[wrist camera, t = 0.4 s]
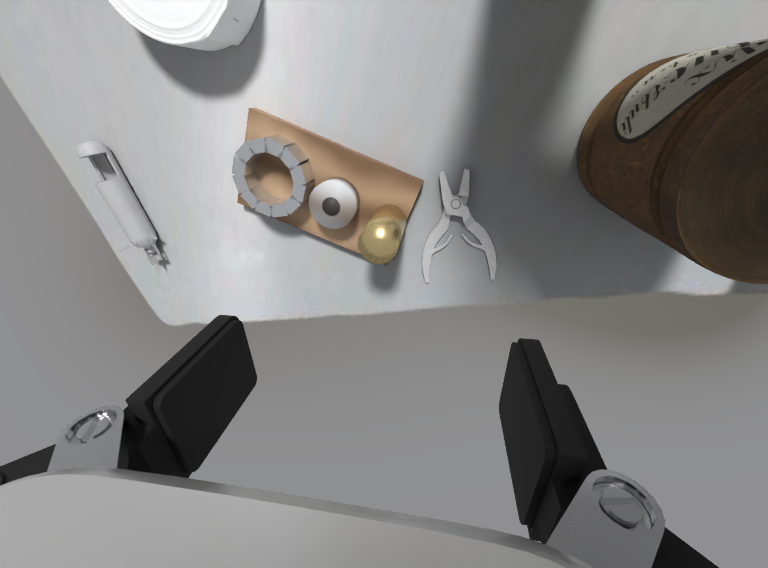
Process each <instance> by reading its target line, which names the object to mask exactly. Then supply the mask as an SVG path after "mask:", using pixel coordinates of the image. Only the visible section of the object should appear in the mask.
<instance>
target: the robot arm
mask: <svg viewBox="0 0 768 568" xmlns="http://www.w3.org/2000/svg"><path fill="white" fill-rule="evenodd" d="M256 381H257V375H256V371H255V368H254V364H253V360H252V356H251V352H250V349H249V345H248V341H247V338H246V334H245V330H244V327H243V323H242V322H241V321H240V320H239V319H238V318H237V317H236V316H228V315H219V316H217V317H216V318H215V319H214V320H213V321H211V322H210V323H209V324H208V325H207V326H206V327H205V328H204V329H203V330H202V331H200V332H199V333H198V334H197V335H196V336H195V337H194V338H193V339H192V340H191V341H190V342H188V343H187V344H186V345H185V346H184V347H183V348H182V349H181V350H180V351H179V352H177V353H176V354H175V355H174V356H173V357H172V358H171V359H170V360H169V361H168V362H167V363H165V364H164V365H163V366H162V367H161V368H160V369H159V370H158V371H157V372H156V373H154V374H153V375H152V376H151V377H150V378H149V379H148V380H147V381H146V382H144V383H143V384H142V385H141V386H140V387H139V388H138V389H137V390H136V391H135V392H134V393H132V394H131V395H130V396H129V397H128V398H127V399H126V402H127V404H128V407H127V408H125V409H124V410H123V409H122V408H120V407H119V406H114V405H111V406H103V407H99V408H96V409H94V410H91V411H89V412H86V413H84V414H83V415H81V416H79V417H78V418H76V419H75V420H73V421H72V422H71V423H70V424H68V425H67V427H66V428H65V429H64V430H63V431H62V432H61V434H60V436H59V438H58V440H57V443H56V444H55V445H52V446H50V447H47V448H45V449H42V450H40V451H37V452H35V453H33V454H30V455H27V456H25V457H23V458H20V459H18V460H15V461H13V462H10V463H8V464H6V465H3V466H0V568H718V567H717V566H716V565H714V564H713V563H712V562H711V561H709V560H708V559H707V558H705V557H704V556H703V555H701V554H700V553H699V552H697V551H696V550H695V549H693V548H692V547H691V546H689V545H688V544H687V543H685V542H684V541H682V540H681V539H680V538H679V537H677V536H676V535H675V534H673V533H672V532H671V531H669V530H668V529H667V528H665V519H664V516H663V513H662V510H661V508H660V507H659V505H658V504H657V502H656V500H655V499H654V498H653V497H652V496H651V494H650V493H648V491H647V490H646V489H645V488H644V487H642V486H641V485H640V484H638V483H637V482H636V481H635V480H633V479H631V478H629V477H627V476H625V475H624V474H621V473H618V472H615V471H611V470H607V468H606V466H605V464H604V462H603V459H602V458H601V455H600V453H599V451H598V449H597V446H596V444H595V442H594V440H593V438H592V435H591V433H590V431H589V429H588V427H587V425H586V423H585V420H584V418H583V416H582V414H581V412H580V409H579V407H578V405H577V403H576V400H575V398H574V396H573V394H572V392H571V390H570V388H569V387H568V386H567V385H562V384H558V383H557V381H556V379H555V376H554V374H553V371H552V369H551V367H550V364H549V362H548V360H547V358H546V355H545V352H544V350H543V348H542V345H541V343H540V341H539V340H534V339H522V338H520V339H519V340H518V342H517V343H515V342H513V343H512V344H511V348H510V353H509V358H508V363H507V368H506V373H505V377H504V382H503V387H502V392H501V397H500V402H499V413H500V419H501V424H502V429H503V434H504V440H505V446H506V451H507V456H508V461H509V467H510V472H511V478H512V483H513V488H514V494H515V499H516V504H517V510H518V515H519V520H520V523H521V524H522V525H527V527H528V532H529V537H530V539H527V538H524V537H521V536H517V535H512V534H508V533H504V532H499V531H495V530H491V529H486V528H481V527H476V526H470V525H465V524H459V523H454V522H449V521H444V520H438V519H433V518H428V517H421V516H416V515H410V514H404V513H398V512H392V511H385V510H380V509H374V508H368V507H362V506H356V505H350V504H344V503H338V502H332V501H326V500H320V499H314V498H308V497H302V496H295V495H289V494H283V493H277V492H271V491H265V490H259V489H252V488H246V487H239V486H234V485H227V484H220V483H214V482H208V481H202V480H195V479H189V478H188V477H189V476H190V474H191V473H192V472H194V471H196V470H197V469H198V468H199V467H200V465H201V464H202V463H203V461H204V460H205V458H206V457H207V455H208V454H209V452H210V451H211V449H212V448H213V447H214V445H215V444H216V442H217V441H218V439H219V438H220V436H221V435H222V433H223V432H224V430H225V429H226V428H227V426H228V425H229V423H230V422H231V420H232V418H233V417H234V416H235V414H236V413H237V411H238V410H239V408H240V407H241V405H242V404H243V402H244V401H245V400H246V398H247V397H248V395H249V394H250V392H251V391H252V389H253V388H254V386H255V385H256ZM533 540H535V541H533ZM536 541H541V542H542V543H539V542H536Z"/></svg>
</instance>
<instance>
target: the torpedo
mask: <svg viewBox="0 0 768 568" xmlns="http://www.w3.org/2000/svg"><path fill="white" fill-rule="evenodd" d="M77 153H78V156H79V158H84V157H88V158H89V159H90V161H91V163H92V164H93V166H94V168H95V169H96V171H97V173H98V175H99V176H100V178H101V180H102V182H98V183H94V184H95V186H96V187H97V189H98V190H99V192H100V194H101V195H102V197H103V199H104V200H105V202H106V204H107V205H108V207H109V209H110V210H111V212H112V214H113V215H114V216H115V218H116V220H117V221H118V223H119V224H120V226H121V228H122V229H123V231H124V233H125V234H126V236H127V238H128V239H129V241H130V242H131V243H132V245H135V246H137V247H139V248H140V249H141V250H142V251H143V252H144V254H145V256H146V257H147V259H149V261H150V262H151V264H152V265H154V264H156V263H157V261H158V262H159V261H161V260H163V258H162V256H161V254H160V251H159V249H158V248H157V246H156V239H158V238H157V235H156V232H155V230H154V228H153V226H152V225H151V223H150V221H149V219H148V217H147V216H146V214H145V212H144V210H143V208H142V207H141V205H140V203H139V201H138V200H137V198H136V196H135V194H134V192H133V191H132V189H131V187H130V185H129V183H128V182H127V180H126V178H125V176H124V174H123V173H122V171H121V169H120V167H119V165H118V164H117V162H116V160H115V158H114V156H113V155H112V153H111V151H110V150H109V149H108V148H107V146H105V145H104V144H102V143H100V142H98V141H86V142H83V143H81V144H80V145H79V146H78V149H77ZM104 153H105V154H106V156H107V158H108V159H109V161H110V163H111V165H112V167H113V168H114V170H115V172H116V174H117V175H118V177H119V178H117V177H116V175H115V173H114V171H113V170H112V168H111V166H110V164H109V162H108V161H107V159H106V157H105V155H104ZM132 245H130V246H132ZM130 246H128V247H130ZM128 247H126V248H128ZM153 247H154V248H153ZM126 248H123V249H121V250H124V249H126ZM121 250H119V251H121ZM155 250H156V252H157V254H156V255H154V256H149V254H150V253H151V254H152V253H155V252H154V251H155ZM119 251H117V252H119ZM156 260H157V261H156Z"/></svg>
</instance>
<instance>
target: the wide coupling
mask: <svg viewBox="0 0 768 568" xmlns="http://www.w3.org/2000/svg"><path fill="white" fill-rule="evenodd" d="M294 144H295V142H293V141H291V140H289V139H286V138H284V137H282V136H279V135H277V136H276V135H272V136H267V137H261V138H256V139H252V140H247V141H246V142H244V144H243V145H242V146H241V147H240V148H239V149H238V151H237V152H236V153H235V155H236V156H234V160H233V169H232V173H233V174H235V175H233V179H234V182H235V184H236V187H237V190H238V192H239V193H242V194H241V195H240V196H241V197H242V198H243V199H244V200H245V201H246V202H247V203H248V204H249V205H250V207H251V208H252V209H254V208H255V211H257V212H260V213H262V214H264V215H267V216H269V217H271V216H273V217H281V216H288V215H290V214H292V213H293V212H294V211H296V210H297V209H298V208H300V207H301V206H302V205H303V204H304V203H305V202H306V201H308V200H309V197H310V194H311V192H312V191H313V187H314V183H315V181H314V180H313V179H315V177H314V173H313V169H312V165H311V161H307V160H308V159H309V158H308V156H307V155H306V154H305V153H304V152H303V150H302V149H301V148H300V147H299V146H298V144H295V145H294ZM265 152H267V153H270V154H272V155H274V156H277V157H279V158H280V159H281V160H282V161H283V162H284V164H285V165H286V166H287V167H288V168H289V169H290V173H291V176H292V180H293V183H294V184H293V189H292V193H291V196H290V197H289V198H285V199H280V198H278V197H276V196H273V195H271V194H269V193H268V191H267V190H266V189H265V188H264V187H263V186H262V185H261V183H260V180H259V177H258V174H257V166H258V159H259V158H260V157H261V156H262V155H263V154H264V153H265ZM306 161H307V162H306Z"/></svg>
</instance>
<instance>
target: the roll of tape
mask: <svg viewBox="0 0 768 568" xmlns="http://www.w3.org/2000/svg"><path fill="white" fill-rule="evenodd" d="M108 1H109V2H110V3H111V5H112V6H113V7H114V8H115V9H116V10H117V11H118V12H119V14H120V15H121V16H122V17H123V18H125V19H126V20H127V21H128V22H129V23H130V24H131V25H132V26H134V27H135V28H136V29H138V30H139V31H140V32H142V33H144V34H145V35H147V36H149V37H151V38H153V39H155V40H157V41H160V42H163V43H166V44H170V45H176V46H182V47H187V48H193V49H198V50H205V51H216V50H221V49H224V48H227V47H229V46H231V45H237V46H238V45H239V44H240V43H241V42H242V41H243V39H244V38H245V37H246V35H247V34H248V32H249V30H250V29H251V27H252V25H253V23H254V21H255V18H256V16H257V13H258V10H259V7H260V3H261V0H108Z"/></svg>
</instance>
